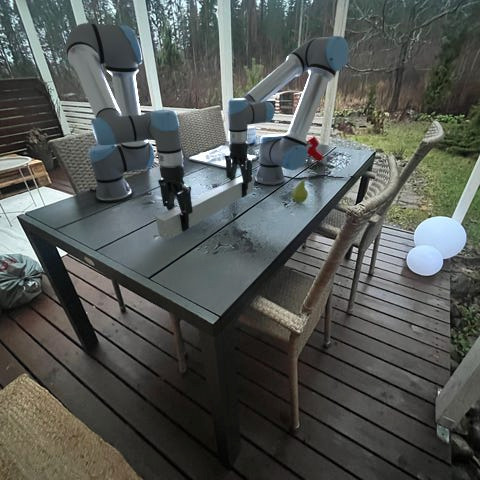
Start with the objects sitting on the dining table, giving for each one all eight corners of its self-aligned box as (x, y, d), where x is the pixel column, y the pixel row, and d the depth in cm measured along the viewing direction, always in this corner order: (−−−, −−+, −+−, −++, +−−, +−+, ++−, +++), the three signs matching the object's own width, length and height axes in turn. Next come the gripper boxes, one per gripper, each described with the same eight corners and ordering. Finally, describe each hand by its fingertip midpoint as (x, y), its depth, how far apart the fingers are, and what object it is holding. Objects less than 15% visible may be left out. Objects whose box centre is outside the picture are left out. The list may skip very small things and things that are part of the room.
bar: (245, 189, 129) (245, 173, 125) (253, 191, 127) (253, 175, 123) (159, 235, 95) (155, 216, 91) (168, 240, 93) (164, 220, 88)
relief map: (230, 169, 160) (230, 160, 157) (189, 159, 178) (188, 151, 175) (256, 158, 178) (256, 150, 176) (216, 150, 196) (216, 143, 193)
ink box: (251, 141, 219) (251, 125, 213) (255, 142, 216) (255, 126, 210) (243, 143, 214) (243, 127, 208) (248, 144, 211) (248, 128, 205)
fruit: (288, 200, 123) (290, 174, 116) (302, 197, 125) (305, 172, 119) (296, 206, 118) (299, 179, 111) (310, 203, 120) (314, 177, 114)
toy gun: (327, 156, 170) (314, 135, 166) (326, 157, 167) (314, 136, 163) (301, 171, 180) (289, 151, 176) (301, 173, 177) (288, 153, 173)
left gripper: (143, 162, 88) (155, 224, 101) (182, 173, 79) (190, 240, 92) (161, 156, 93) (171, 216, 106) (200, 166, 84) (205, 230, 97)
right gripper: (215, 140, 112) (218, 193, 124) (251, 146, 103) (251, 202, 115) (226, 137, 117) (229, 188, 129) (261, 142, 108) (260, 196, 120)
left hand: (180, 227), depth 99 cm, fingers closed on bar, 5 cm apart
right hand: (239, 194), depth 122 cm, fingers closed on bar, 5 cm apart
